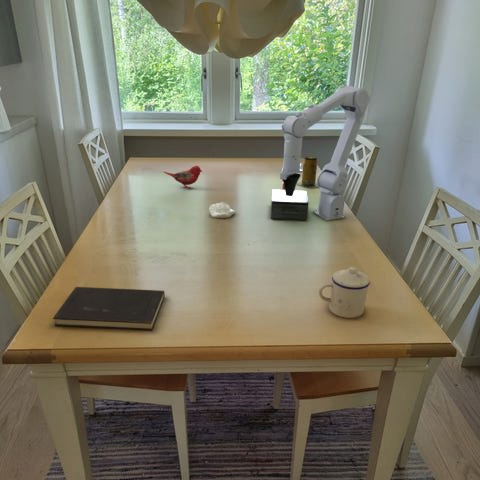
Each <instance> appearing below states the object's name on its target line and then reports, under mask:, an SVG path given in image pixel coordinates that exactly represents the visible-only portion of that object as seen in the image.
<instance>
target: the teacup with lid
mask: <svg viewBox="0 0 480 480" xmlns="http://www.w3.org/2000/svg"><path fill="white" fill-rule="evenodd" d="M331 280H332V282H325V283H323V284H321V285H320V286H319V288H318V295H319V297H320V299H321V300H322V301H323V302H326V303H329V305H328V308H329V311H330V312H331V313H332V314H334V315H335V316H338V317H341V318H344V319H353V318H354V319H355V318H358V317H360V316H362V315H363V314H364V311H365V306H366V301H367V295H368V291H369V286H370V285H371V281H370V278H369V276H368V275H367V274H365V272H362V271H359V270H358V269H357V268H356V267H355V266H350V267H348V269H340V270H337V271H336V272H334V274H332V277H331ZM326 288H331V291H330V297H325V296H324V295H323V290H324V289H326Z"/></svg>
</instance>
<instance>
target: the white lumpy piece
mask: <svg viewBox="0 0 480 480" xmlns="http://www.w3.org/2000/svg"><path fill="white" fill-rule="evenodd" d="M208 212H209V214H210V215H211V217H212V218H214V219H215V218H217V219H225V218H230V217H232V216H233V215H234V214H235V212H236V211H235V210H234V209H232V208H231V206H230V205H229V204H228V203H226V202H224V201H221V202H219V203H217V202H216V203H212V204H211V205H209V208H208Z"/></svg>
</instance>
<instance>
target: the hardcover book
mask: <svg viewBox="0 0 480 480" xmlns="http://www.w3.org/2000/svg"><path fill="white" fill-rule="evenodd" d="M165 297H166V293H165V290H162V289H161V290H157V289H156V290H155V289H137V288H136V289H135V288H112V287H94V286H93V287H91V286H75V287H74V288H73V290H72V291H71V293H70V294H69V295H68V296H67V298H66V299H65V301H64V302H63V304H62V305H61V307H60V308H59V309H58V311H57V312H56V313H55V315H54V316H53V317H52V320H54V321H55V324H54V327H64V328H66V327H67V328H87V329H107V330H110V329H111V330H129V331H147V332H148V331H151V332H152V331H153V330H154V327H155V324H156V322H157V320H158V316H159V314H160V311H161V309H162V306H163V303H164V301H165Z"/></svg>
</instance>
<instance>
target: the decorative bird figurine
mask: <svg viewBox="0 0 480 480" xmlns="http://www.w3.org/2000/svg"><path fill="white" fill-rule="evenodd" d="M163 173H164V174H165V175H168V176H170V177H172V178H173V179H174V180H175V181H176V182H178V183H180V184H182V185H183V189H187V190H188V189H189V190H191V189H192V185H193V184H195V183H196V182H197V181H198V179H199V176H200V175H201V173H203V170H202V169H201V167H200V166H199V165H194V166H192V167H190V169H187V170H183V171H178V172H175V173H172V172H167V171H163ZM190 185H191V186H190Z"/></svg>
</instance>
